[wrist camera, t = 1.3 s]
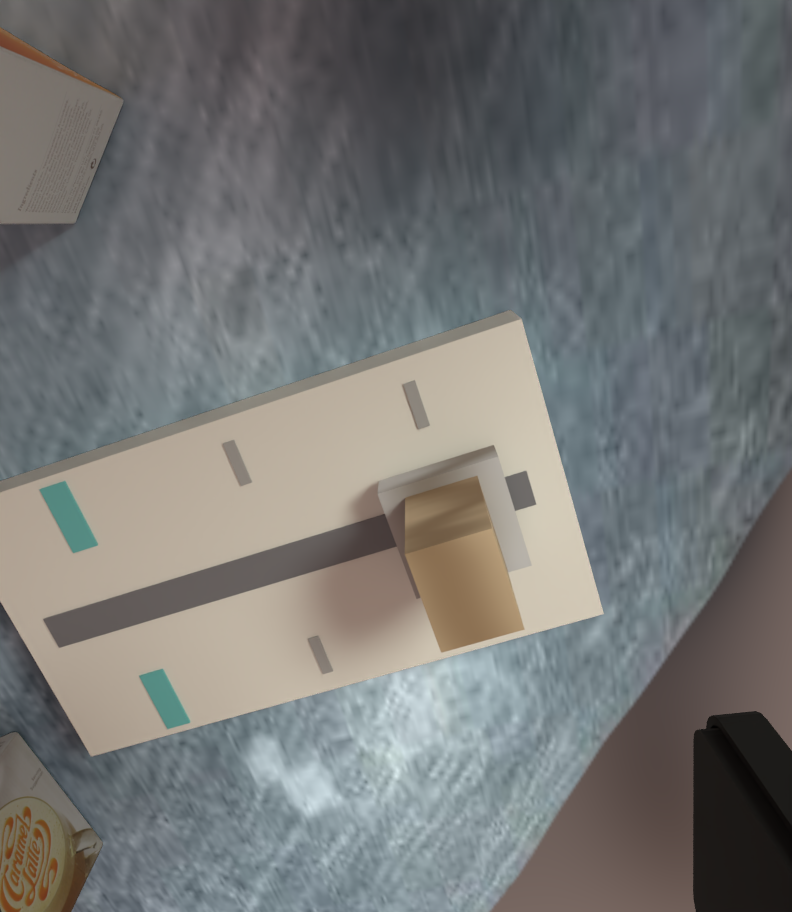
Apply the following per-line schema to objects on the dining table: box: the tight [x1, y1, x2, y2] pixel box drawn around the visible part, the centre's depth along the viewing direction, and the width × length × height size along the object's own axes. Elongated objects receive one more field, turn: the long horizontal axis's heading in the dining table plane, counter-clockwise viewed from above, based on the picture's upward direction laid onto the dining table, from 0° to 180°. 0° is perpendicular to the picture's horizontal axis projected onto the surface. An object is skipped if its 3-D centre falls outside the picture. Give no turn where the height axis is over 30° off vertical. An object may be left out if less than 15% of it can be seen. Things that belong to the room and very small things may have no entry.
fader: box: [378, 445, 532, 653], centre depth 26 cm, size 5×5×6 cm
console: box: [0, 310, 604, 757], centre depth 32 cm, size 26×14×3 cm, turn 109°
